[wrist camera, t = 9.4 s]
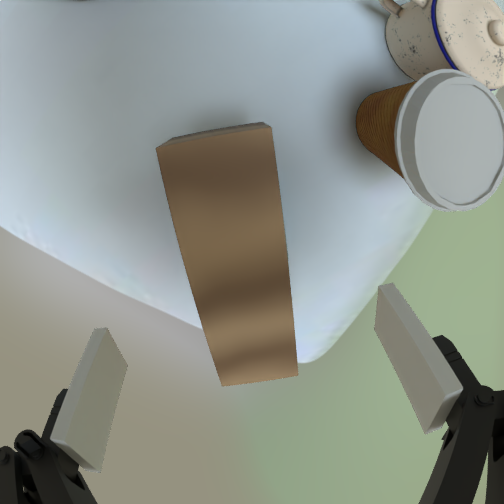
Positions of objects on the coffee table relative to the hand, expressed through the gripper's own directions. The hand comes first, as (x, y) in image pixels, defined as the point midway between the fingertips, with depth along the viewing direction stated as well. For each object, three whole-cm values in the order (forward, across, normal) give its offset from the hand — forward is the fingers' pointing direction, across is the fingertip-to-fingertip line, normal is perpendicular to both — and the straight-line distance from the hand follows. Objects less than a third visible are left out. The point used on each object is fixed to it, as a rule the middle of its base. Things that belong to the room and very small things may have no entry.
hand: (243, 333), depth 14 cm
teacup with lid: (+17, +19, +15) cm, 29 cm away
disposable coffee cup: (+16, +15, +6) cm, 23 cm away
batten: (+10, 0, -1) cm, 10 cm away
